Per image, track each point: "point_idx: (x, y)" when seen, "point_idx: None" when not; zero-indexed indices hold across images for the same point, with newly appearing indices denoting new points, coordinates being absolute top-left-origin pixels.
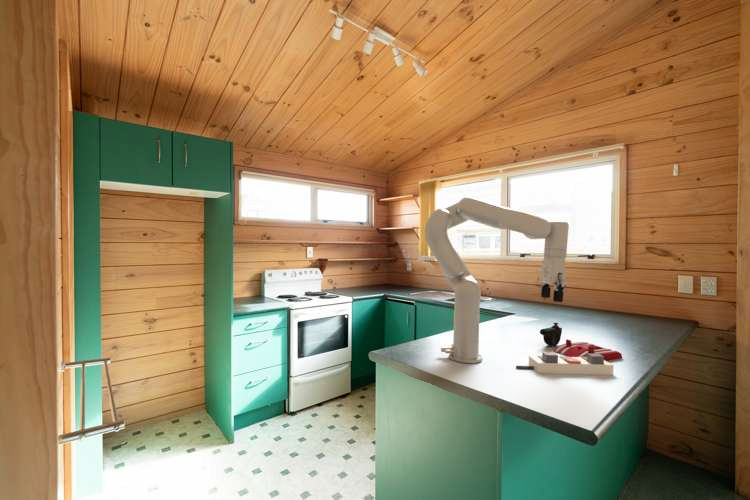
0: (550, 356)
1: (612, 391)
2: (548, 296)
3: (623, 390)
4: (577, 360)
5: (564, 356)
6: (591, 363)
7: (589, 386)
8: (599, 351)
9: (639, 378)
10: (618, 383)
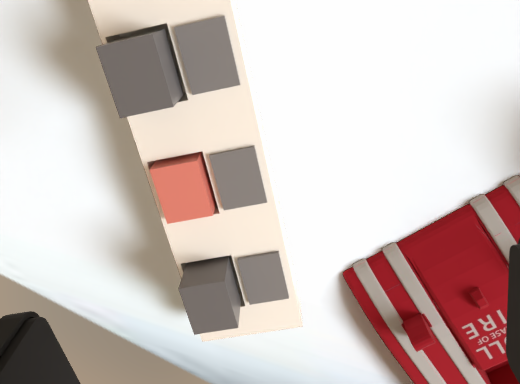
0: (108, 71)
1: (6, 246)
2: (518, 355)
3: (38, 285)
4: (176, 212)
5: (259, 173)
6: (192, 265)
7: (20, 182)
8: (444, 363)
9: (201, 378)
10: (111, 296)
